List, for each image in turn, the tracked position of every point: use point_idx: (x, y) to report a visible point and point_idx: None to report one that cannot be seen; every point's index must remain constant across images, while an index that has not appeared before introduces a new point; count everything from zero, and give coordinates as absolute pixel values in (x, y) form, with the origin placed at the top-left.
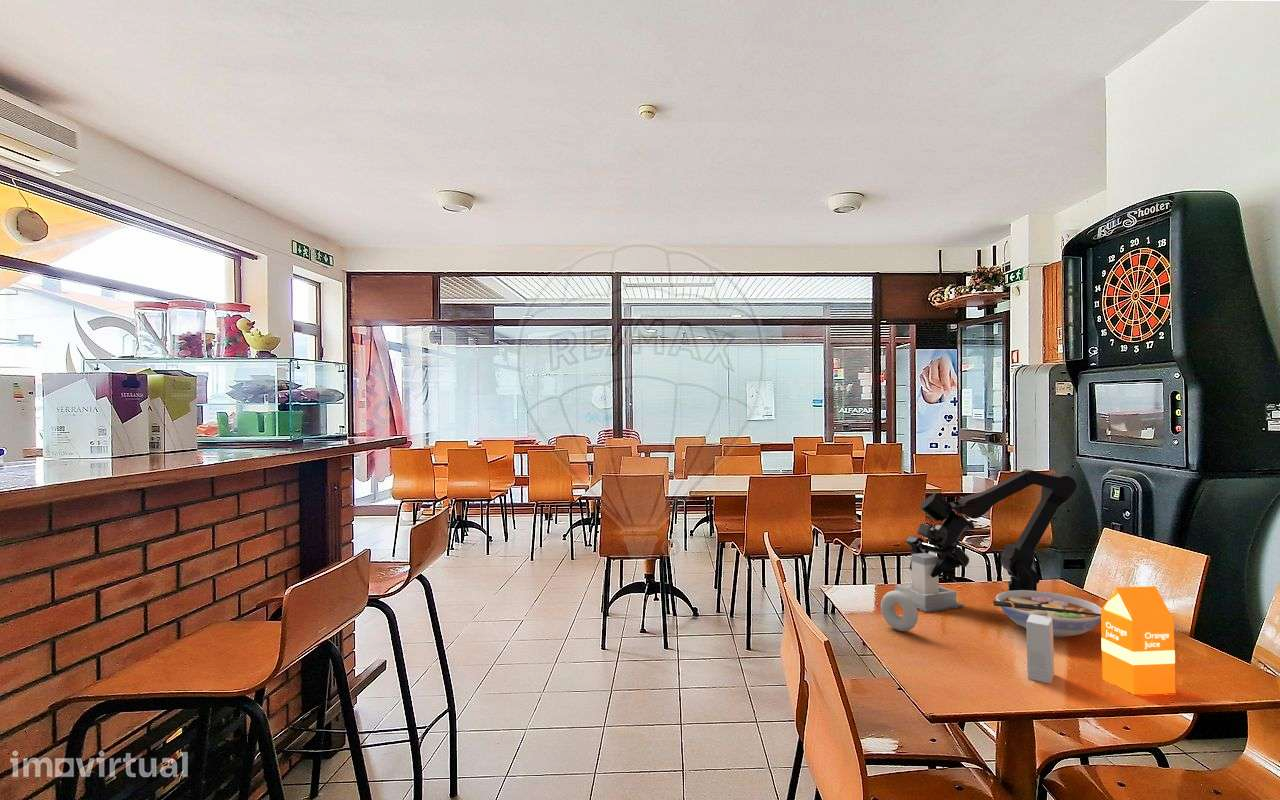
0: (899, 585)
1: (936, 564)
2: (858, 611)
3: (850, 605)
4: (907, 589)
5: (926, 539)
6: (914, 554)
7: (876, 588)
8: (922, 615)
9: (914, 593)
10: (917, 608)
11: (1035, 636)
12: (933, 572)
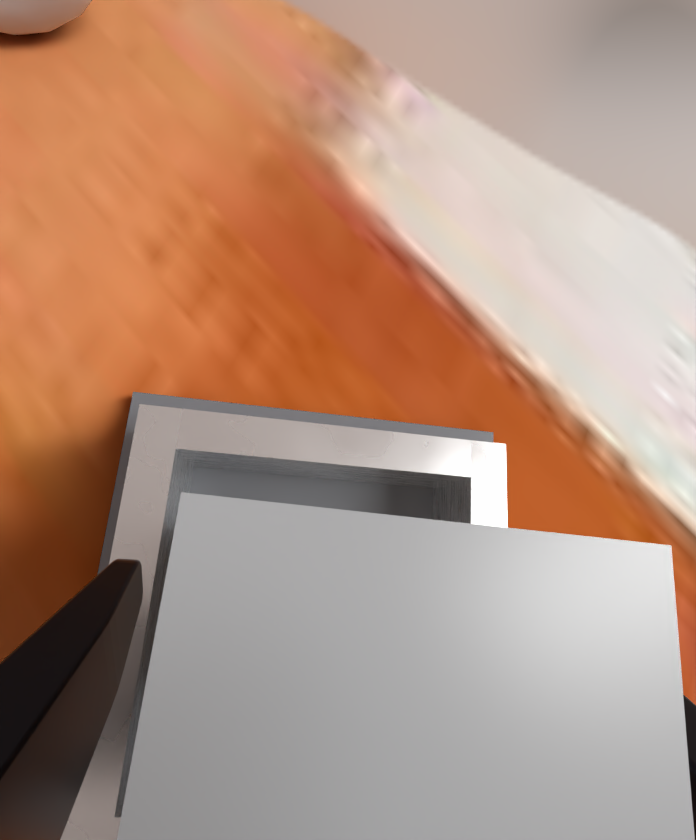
0: (483, 470)
1: (2, 758)
2: (365, 102)
3: (463, 145)
4: (363, 433)
5: None
6: (632, 608)
7: (690, 542)
8: (114, 338)
9: (272, 420)
10: (212, 402)
11: None
12: (82, 595)
